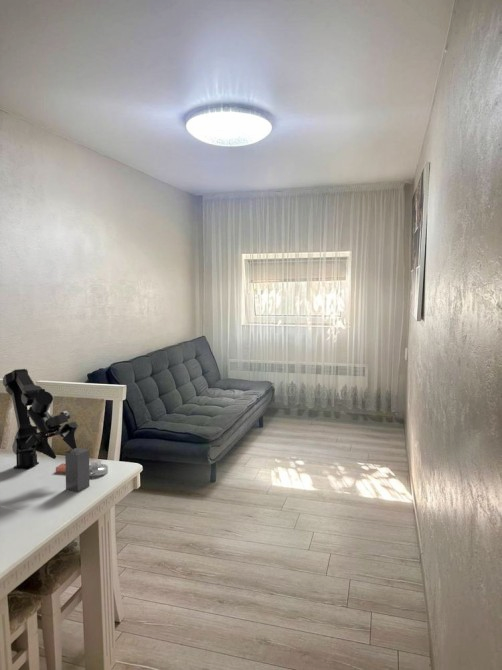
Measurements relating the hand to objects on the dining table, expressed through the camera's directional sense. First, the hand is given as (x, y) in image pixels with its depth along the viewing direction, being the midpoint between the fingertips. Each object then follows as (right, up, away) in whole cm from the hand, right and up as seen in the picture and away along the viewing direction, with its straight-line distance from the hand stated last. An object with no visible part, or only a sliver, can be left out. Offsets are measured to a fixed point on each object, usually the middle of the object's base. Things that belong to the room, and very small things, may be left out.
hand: (65, 453), depth 152 cm
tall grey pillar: (+5, -12, -1) cm, 12 cm away
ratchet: (+1, -10, +13) cm, 16 cm away
